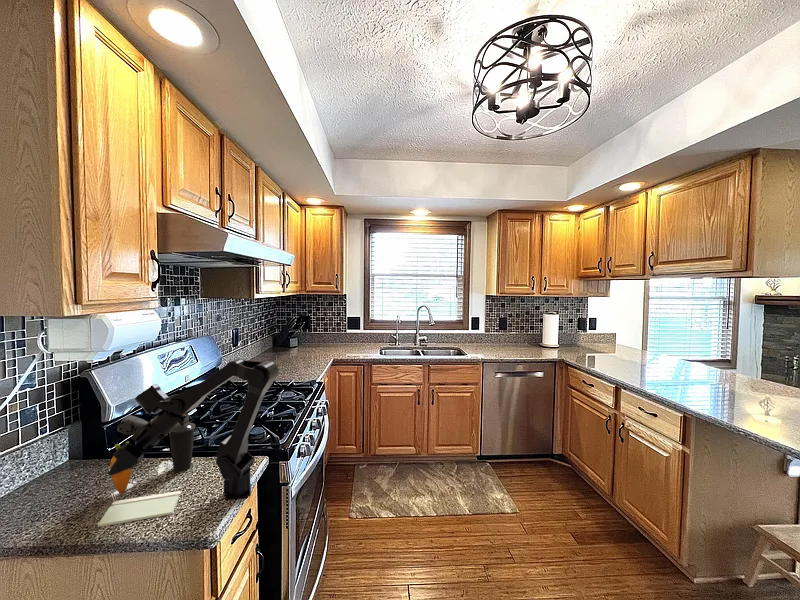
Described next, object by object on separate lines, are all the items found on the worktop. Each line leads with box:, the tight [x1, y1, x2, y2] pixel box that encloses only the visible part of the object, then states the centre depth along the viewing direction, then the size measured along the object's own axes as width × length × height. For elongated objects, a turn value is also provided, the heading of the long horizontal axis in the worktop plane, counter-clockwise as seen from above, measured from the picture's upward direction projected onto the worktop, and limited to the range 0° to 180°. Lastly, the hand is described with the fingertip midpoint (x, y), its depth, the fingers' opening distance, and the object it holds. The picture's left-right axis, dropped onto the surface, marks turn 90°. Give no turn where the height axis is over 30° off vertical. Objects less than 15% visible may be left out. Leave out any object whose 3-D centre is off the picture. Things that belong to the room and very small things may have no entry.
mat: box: [97, 495, 180, 528], centre depth 97 cm, size 16×8×1 cm, turn 110°
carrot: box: [110, 440, 132, 495], centre depth 105 cm, size 5×5×15 cm
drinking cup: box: [168, 422, 196, 473], centre depth 119 cm, size 8×8×20 cm
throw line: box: [111, 490, 182, 506], centre depth 103 cm, size 16×2×1 cm, turn 110°
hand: (118, 466), depth 105 cm, fingers open, 9 cm apart
